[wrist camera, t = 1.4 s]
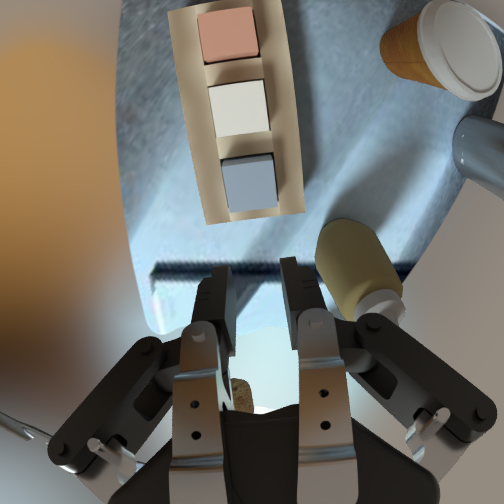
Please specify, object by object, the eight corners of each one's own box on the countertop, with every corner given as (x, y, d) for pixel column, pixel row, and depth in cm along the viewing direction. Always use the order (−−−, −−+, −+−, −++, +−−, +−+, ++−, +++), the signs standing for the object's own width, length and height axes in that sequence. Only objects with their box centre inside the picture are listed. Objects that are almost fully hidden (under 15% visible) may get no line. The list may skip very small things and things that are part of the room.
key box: (275, 7, 20) (279, -6, 16) (298, 198, 31) (304, 212, 28) (177, 21, 20) (167, 11, 17) (210, 209, 32) (206, 225, 28)
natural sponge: (205, 388, 52) (201, 431, 43) (206, 364, 47) (201, 413, 39) (250, 392, 52) (251, 434, 44) (256, 368, 48) (258, 416, 39)
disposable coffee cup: (428, 24, 19) (495, 14, 9) (438, 95, 24) (508, 109, 14) (359, 12, 20) (416, -17, 9) (372, 90, 25) (437, 96, 14)
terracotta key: (250, 16, 19) (251, 6, 16) (256, 57, 21) (258, 51, 18) (202, 23, 19) (196, 14, 16) (208, 63, 21) (203, 59, 18)
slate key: (269, 152, 26) (272, 160, 23) (274, 194, 28) (277, 206, 25) (224, 158, 26) (221, 166, 23) (231, 199, 28) (229, 213, 26)
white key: (260, 82, 22) (262, 80, 19) (266, 126, 25) (269, 130, 22) (212, 89, 23) (208, 88, 20) (219, 132, 25) (216, 137, 22)
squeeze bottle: (350, 271, 37) (400, 381, 22) (298, 256, 35) (331, 378, 20) (379, 221, 33) (456, 321, 18) (324, 200, 31) (390, 307, 16)
